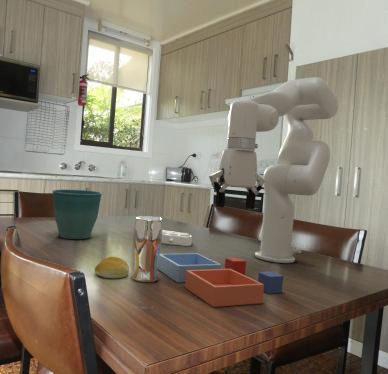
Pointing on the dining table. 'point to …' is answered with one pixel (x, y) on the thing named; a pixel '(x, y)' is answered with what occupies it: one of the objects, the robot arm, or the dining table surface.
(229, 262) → the red block
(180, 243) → the white brass knuckles
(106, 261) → the bread roll
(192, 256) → the blue bin
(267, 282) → the blue block
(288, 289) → the dining table surface
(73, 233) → the flower pot
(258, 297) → the terracotta bin
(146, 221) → the beer glass
